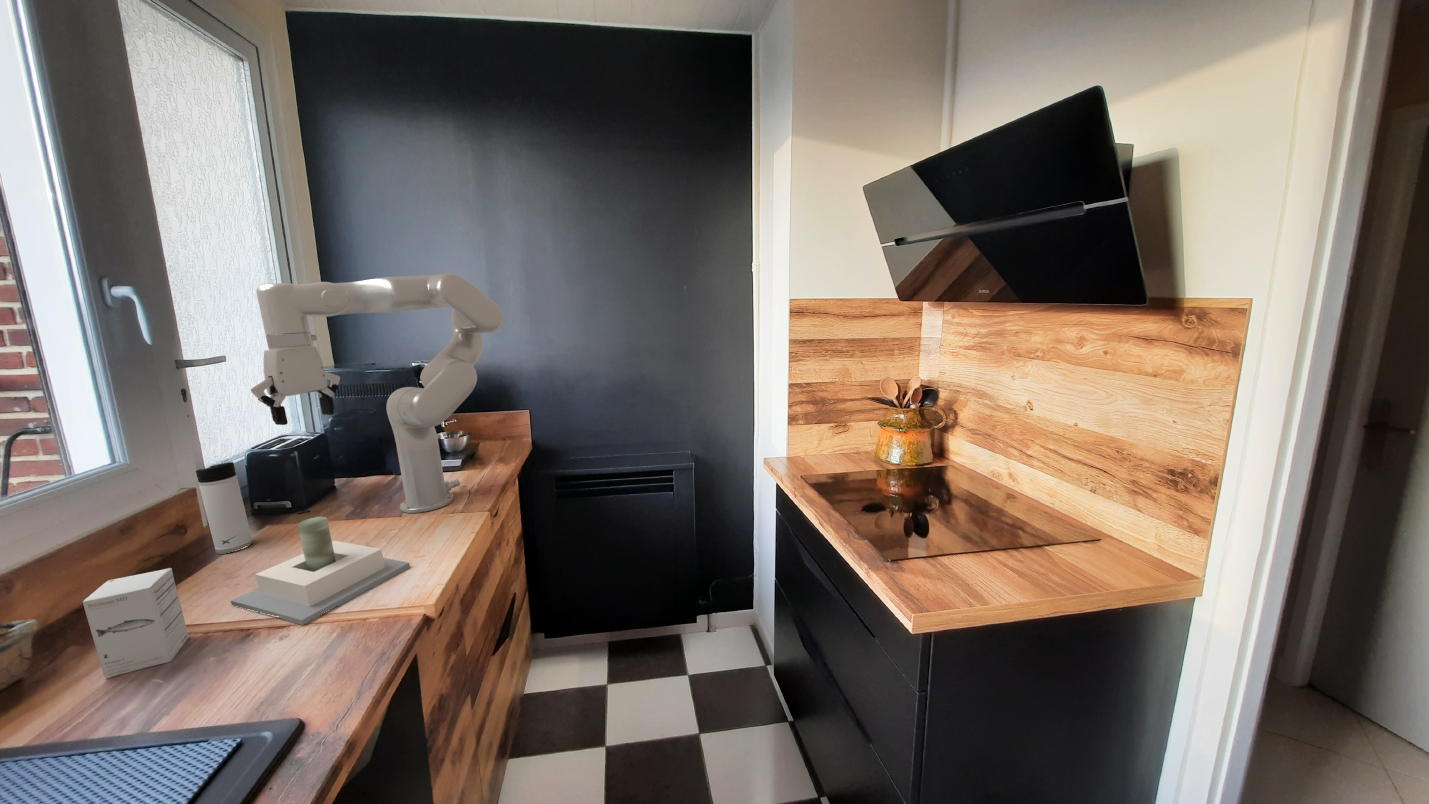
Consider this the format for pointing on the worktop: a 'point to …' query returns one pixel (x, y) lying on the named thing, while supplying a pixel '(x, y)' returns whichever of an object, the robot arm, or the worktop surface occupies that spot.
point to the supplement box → (136, 622)
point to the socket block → (318, 583)
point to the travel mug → (224, 507)
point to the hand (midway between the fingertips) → (305, 419)
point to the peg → (316, 543)
